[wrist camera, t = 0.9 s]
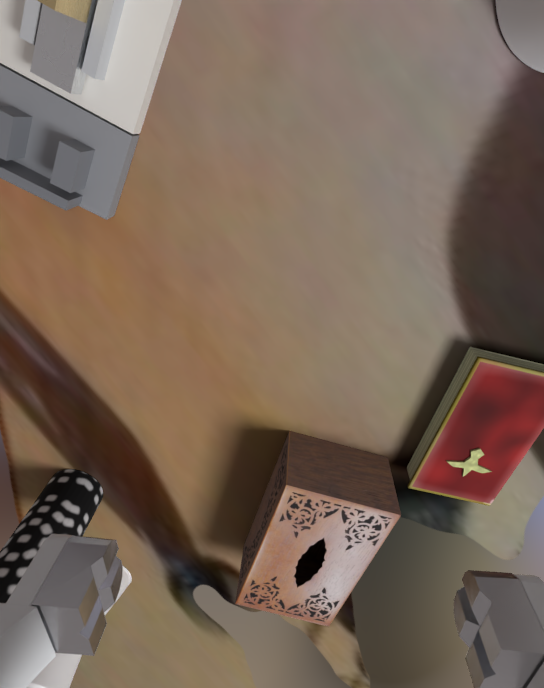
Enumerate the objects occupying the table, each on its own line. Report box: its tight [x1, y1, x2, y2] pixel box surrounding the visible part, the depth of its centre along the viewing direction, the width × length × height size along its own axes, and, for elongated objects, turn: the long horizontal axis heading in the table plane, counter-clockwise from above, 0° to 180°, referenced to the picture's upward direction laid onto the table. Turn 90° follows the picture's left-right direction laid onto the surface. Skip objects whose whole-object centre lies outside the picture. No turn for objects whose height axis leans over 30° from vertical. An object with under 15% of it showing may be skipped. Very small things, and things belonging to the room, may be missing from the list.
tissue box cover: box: [235, 431, 401, 626], centre depth 61 cm, size 26×14×10 cm, turn 164°
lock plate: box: [0, 0, 182, 220], centre depth 38 cm, size 22×14×5 cm, turn 153°
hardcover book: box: [407, 347, 544, 506], centre depth 54 cm, size 12×21×4 cm, turn 167°
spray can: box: [26, 565, 132, 688], centre depth 66 cm, size 12×11×25 cm
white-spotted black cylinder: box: [0, 469, 103, 603], centre depth 58 cm, size 8×8×20 cm
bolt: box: [30, 0, 98, 94], centre depth 33 cm, size 10×4×7 cm, turn 153°
